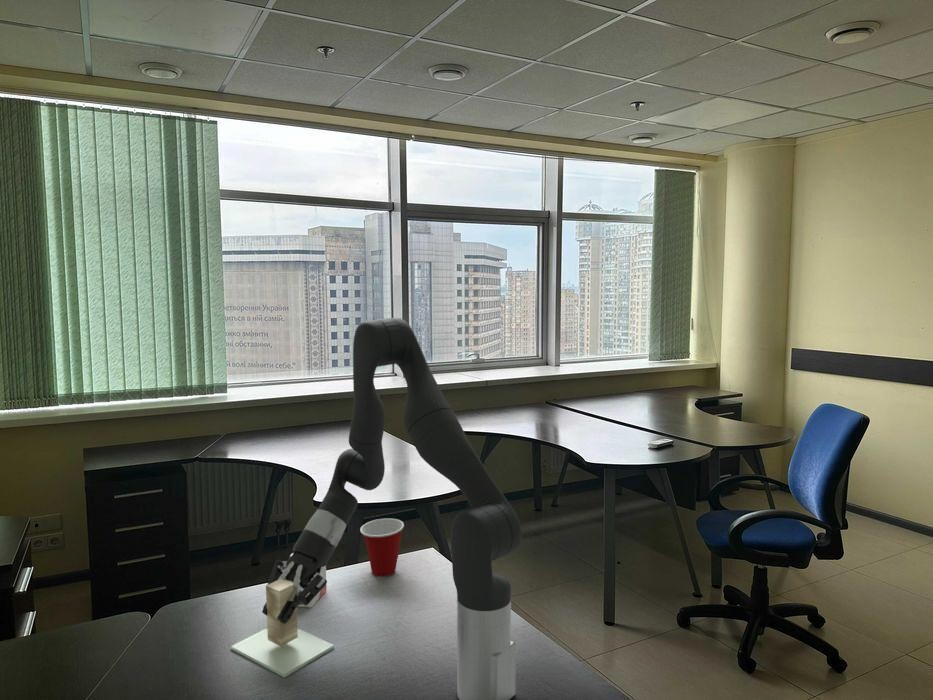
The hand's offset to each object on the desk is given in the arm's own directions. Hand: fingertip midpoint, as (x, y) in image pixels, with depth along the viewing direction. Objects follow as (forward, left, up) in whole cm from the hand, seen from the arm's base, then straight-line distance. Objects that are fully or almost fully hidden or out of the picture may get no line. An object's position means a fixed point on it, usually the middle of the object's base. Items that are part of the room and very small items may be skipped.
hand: (273, 617), depth 125 cm
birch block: (0, -2, -5) cm, 5 cm away
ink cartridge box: (+12, -19, -7) cm, 24 cm away
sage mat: (0, -2, -7) cm, 7 cm away
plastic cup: (+8, -39, -7) cm, 40 cm away
